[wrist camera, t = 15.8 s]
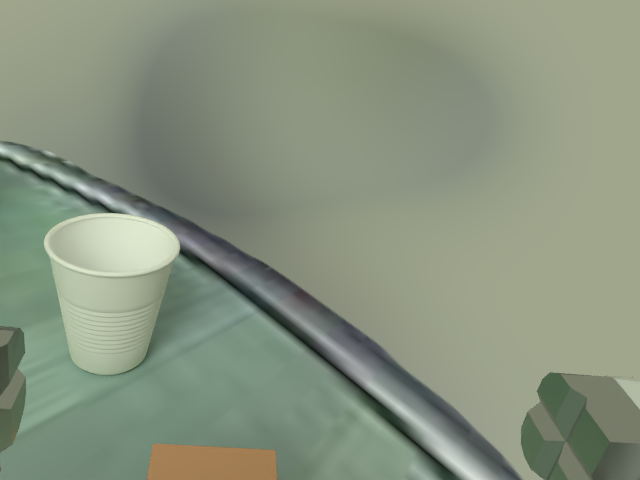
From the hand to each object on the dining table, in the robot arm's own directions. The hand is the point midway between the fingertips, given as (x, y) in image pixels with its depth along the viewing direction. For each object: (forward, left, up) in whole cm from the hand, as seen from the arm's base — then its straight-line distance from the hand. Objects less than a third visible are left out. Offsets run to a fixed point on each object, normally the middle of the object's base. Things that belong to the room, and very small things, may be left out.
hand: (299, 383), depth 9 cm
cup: (-17, +32, -28) cm, 46 cm away
